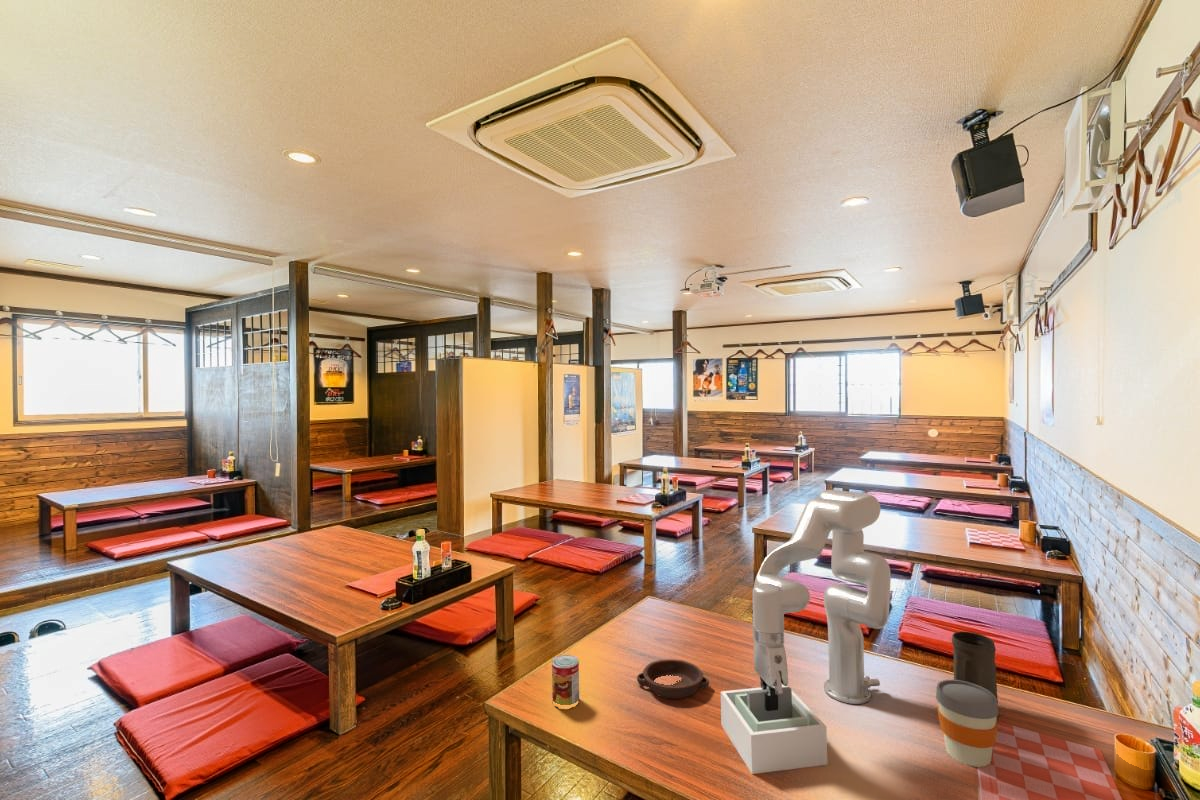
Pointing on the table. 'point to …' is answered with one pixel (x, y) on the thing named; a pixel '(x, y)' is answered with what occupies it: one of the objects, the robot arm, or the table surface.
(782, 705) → the small crate
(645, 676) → the dish
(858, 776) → the table surface
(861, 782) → the table surface
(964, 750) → the reusable coffee cup
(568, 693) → the canned food
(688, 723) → the table surface
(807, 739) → the big crate
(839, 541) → the robot arm
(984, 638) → the beer stein
